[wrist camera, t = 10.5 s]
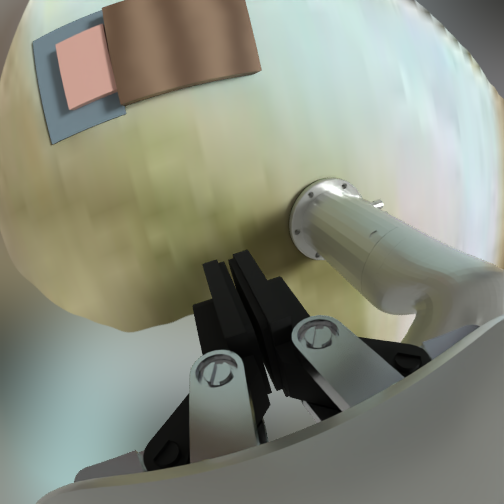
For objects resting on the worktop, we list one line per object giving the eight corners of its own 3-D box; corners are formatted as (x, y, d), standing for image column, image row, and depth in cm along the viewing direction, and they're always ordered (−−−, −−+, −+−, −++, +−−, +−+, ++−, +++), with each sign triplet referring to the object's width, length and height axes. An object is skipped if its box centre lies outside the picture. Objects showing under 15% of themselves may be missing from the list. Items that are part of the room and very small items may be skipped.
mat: (105, 10, 22) (104, 9, 22) (126, 113, 29) (125, 113, 29) (33, 42, 20) (32, 41, 20) (53, 144, 27) (52, 144, 27)
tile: (105, 28, 23) (102, 23, 21) (119, 90, 27) (117, 89, 26) (60, 48, 22) (55, 44, 20) (74, 110, 26) (69, 109, 25)
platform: (233, -12, 25) (239, -21, 22) (254, 74, 31) (261, 70, 28) (106, 16, 22) (101, 7, 20) (124, 106, 29) (120, 104, 26)
